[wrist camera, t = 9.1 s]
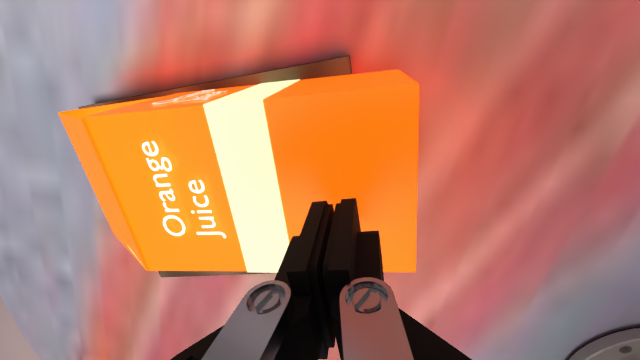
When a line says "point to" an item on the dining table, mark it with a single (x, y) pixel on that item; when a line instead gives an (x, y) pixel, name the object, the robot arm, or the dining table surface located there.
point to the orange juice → (254, 168)
